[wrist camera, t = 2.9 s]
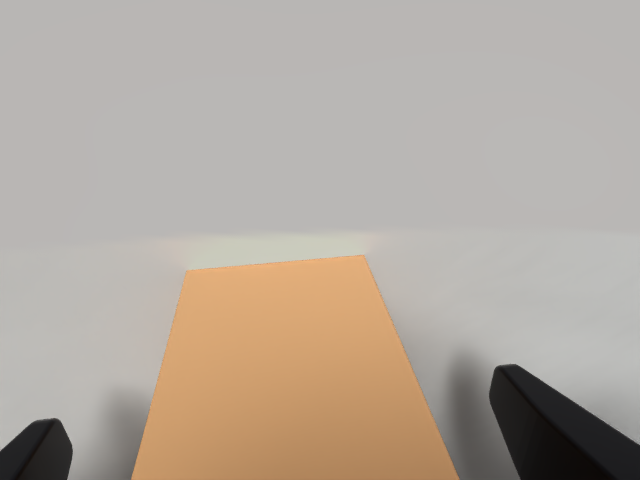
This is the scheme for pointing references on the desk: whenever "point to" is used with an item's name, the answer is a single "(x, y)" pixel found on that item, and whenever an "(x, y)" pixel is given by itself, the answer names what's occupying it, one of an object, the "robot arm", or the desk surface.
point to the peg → (288, 382)
